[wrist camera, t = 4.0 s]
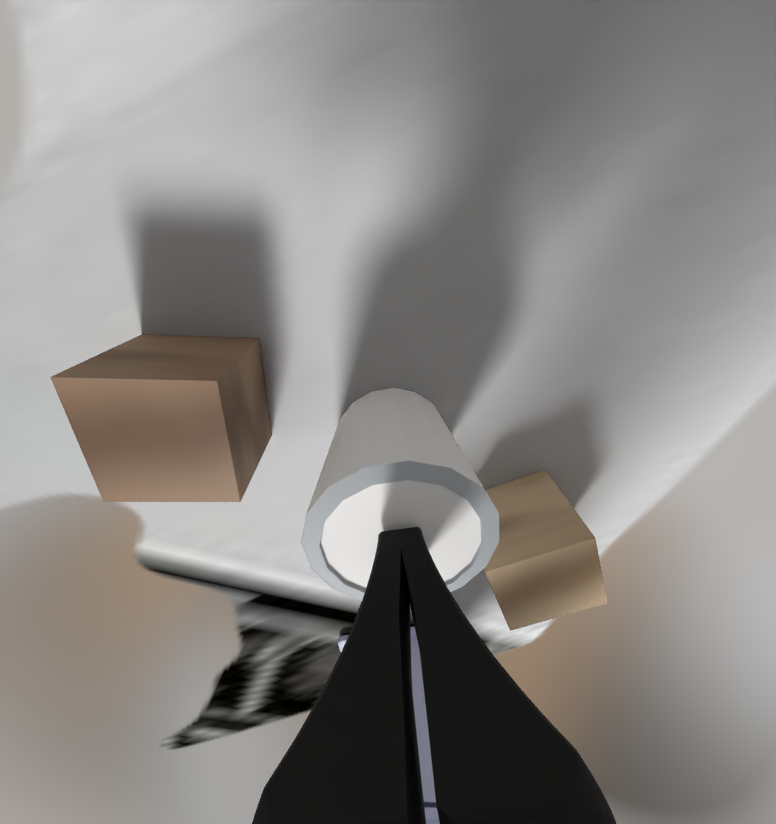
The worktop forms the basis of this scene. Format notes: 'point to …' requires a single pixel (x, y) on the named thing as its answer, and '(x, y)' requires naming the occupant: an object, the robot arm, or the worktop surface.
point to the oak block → (541, 554)
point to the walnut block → (170, 417)
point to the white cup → (396, 494)
